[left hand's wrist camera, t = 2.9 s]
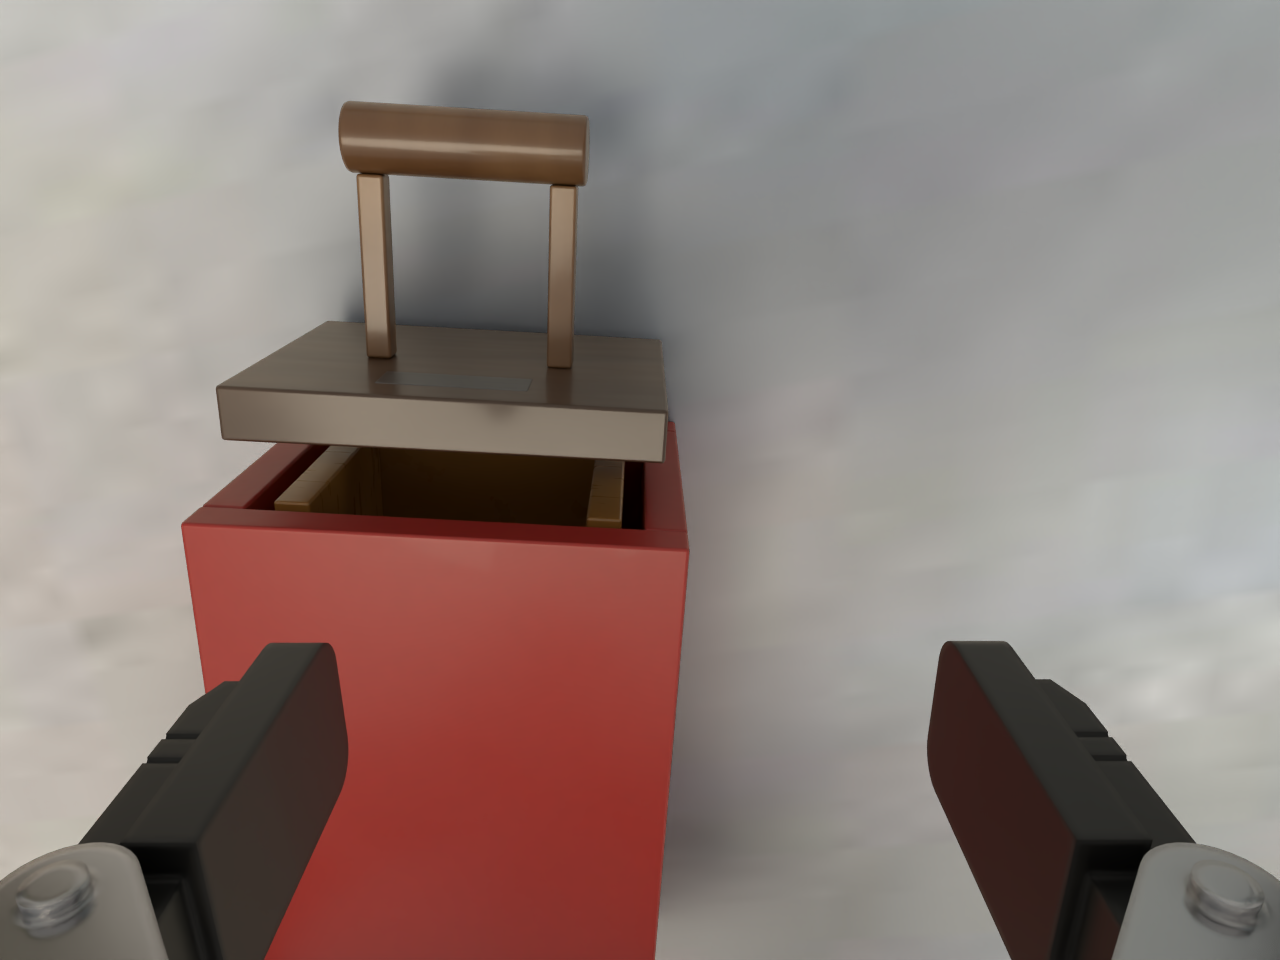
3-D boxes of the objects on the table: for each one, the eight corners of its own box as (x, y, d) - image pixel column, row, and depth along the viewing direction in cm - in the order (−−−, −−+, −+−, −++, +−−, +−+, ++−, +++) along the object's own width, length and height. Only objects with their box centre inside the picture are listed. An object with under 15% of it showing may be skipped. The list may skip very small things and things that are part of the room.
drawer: (309, 101, 23) (176, 87, 16) (675, 123, 23) (689, 118, 16) (365, 851, 32) (293, 1036, 25) (626, 863, 32) (623, 1049, 25)
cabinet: (323, 402, 26) (178, 523, 18) (674, 421, 27) (689, 549, 18) (362, 911, 34) (273, 1162, 26) (637, 923, 34) (636, 1176, 26)
